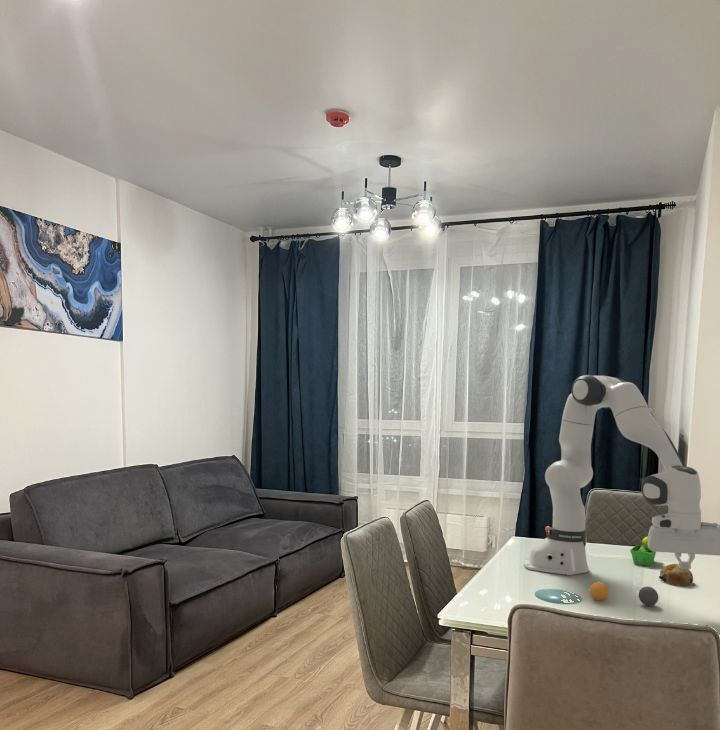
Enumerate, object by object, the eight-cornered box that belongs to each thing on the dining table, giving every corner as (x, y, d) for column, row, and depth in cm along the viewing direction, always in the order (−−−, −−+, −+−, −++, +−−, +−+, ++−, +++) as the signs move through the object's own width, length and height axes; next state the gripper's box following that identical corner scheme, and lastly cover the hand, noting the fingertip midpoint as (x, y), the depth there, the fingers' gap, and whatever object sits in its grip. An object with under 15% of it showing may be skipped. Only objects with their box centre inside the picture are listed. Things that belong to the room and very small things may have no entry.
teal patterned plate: (535, 601, 201) (535, 600, 201) (534, 587, 215) (534, 587, 215) (583, 606, 198) (583, 605, 198) (580, 592, 211) (580, 591, 211)
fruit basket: (636, 557, 257) (637, 528, 258) (661, 561, 252) (661, 531, 253) (629, 563, 248) (629, 533, 249) (654, 568, 243) (655, 536, 243)
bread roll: (685, 598, 220) (696, 578, 218) (654, 580, 225) (666, 560, 223) (688, 591, 228) (699, 571, 226) (658, 573, 233) (669, 554, 231)
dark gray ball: (640, 607, 198) (640, 588, 198) (637, 601, 203) (637, 583, 203) (659, 609, 196) (660, 590, 197) (656, 603, 202) (656, 585, 202)
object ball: (590, 602, 201) (590, 584, 201) (588, 596, 207) (589, 579, 207) (609, 604, 200) (609, 585, 200) (607, 598, 205) (607, 580, 205)
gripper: (719, 521, 199) (720, 568, 198) (646, 517, 204) (646, 563, 203) (726, 525, 193) (726, 573, 192) (650, 521, 198) (650, 568, 197)
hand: (684, 568), depth 198 cm, fingers closed
